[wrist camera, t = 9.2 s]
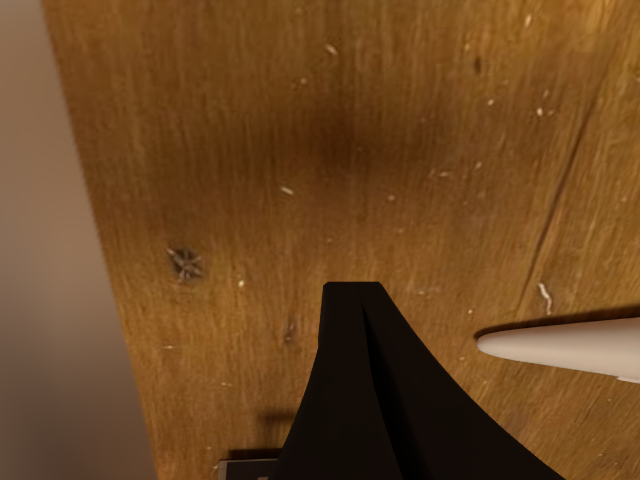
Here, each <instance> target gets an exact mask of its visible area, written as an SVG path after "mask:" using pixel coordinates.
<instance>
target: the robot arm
mask: <svg viewBox="0 0 640 480" xmlns="http://www.w3.org/2000/svg"><path fill="white" fill-rule="evenodd" d="M267 480H566V479H564V478H563V477H562V476H560V475H559V474H558V473H556V472H555V471H554V470H552V469H551V468H550V467H549V466H547V465H546V464H545V463H543V462H542V461H541V460H540V459H538V458H537V457H536V456H535V455H534V454H532V453H531V452H530V451H529V450H528V449H526V448H525V447H524V446H523V445H522V444H521V443H519V442H518V441H517V440H516V439H515V438H513V437H512V436H511V435H510V434H509V433H507V432H506V431H505V430H504V429H503V428H502V427H501V426H500V425H498V424H497V423H496V422H495V421H494V420H493V419H492V418H491V417H490V416H489V415H488V414H487V413H486V412H485V411H484V410H483V409H482V408H481V407H480V406H479V405H478V404H477V403H476V402H475V401H473V400H472V399H471V398H470V396H469V395H468V394H467V393H466V392H465V391H464V390H463V389H462V388H461V387H460V386H459V385H458V384H457V383H456V382H455V380H454V379H453V378H452V377H451V376H450V375H449V374H448V373H447V371H446V370H445V369H444V368H443V367H442V366H441V364H440V363H439V362H438V361H437V360H436V359H435V357H434V356H433V355H432V354H431V352H430V351H429V350H428V349H427V347H426V346H425V345H424V343H423V342H422V341H421V340H420V338H419V337H418V336H417V334H416V333H415V332H414V331H413V329H412V328H411V327H410V325H409V324H408V322H407V321H406V320H405V318H404V317H403V315H402V314H401V313H400V311H399V310H398V308H397V307H396V305H395V304H394V302H393V301H392V299H391V298H390V296H389V295H388V293H387V292H386V290H385V289H384V287H383V286H382V285H381V284H380V282H327V283H326V284H325V285H323V294H322V304H321V314H320V324H319V335H318V350H317V354H316V358H315V361H314V364H313V368H312V371H311V375H310V378H309V381H308V384H307V387H306V390H305V393H304V396H303V399H302V402H301V404H300V407H299V410H298V412H297V415H296V417H295V420H294V422H293V425H292V427H291V429H290V432H289V434H288V437H287V439H286V441H285V443H284V446H283V448H282V450H281V452H280V454H279V457H278V459H277V461H276V463H275V465H274V467H273V469H272V471H271V473H270V475H269V477H268V479H267Z"/></svg>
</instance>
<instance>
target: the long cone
mask: <svg viewBox="0 0 640 480" xmlns="http://www.w3.org/2000/svg"><path fill="white" fill-rule="evenodd" d="M476 345H477V348H478V349H479V350H480V351H482V352H484V353H487V354H490V355H493V356H497V357H501V358H506V359H510V360H517V361H523V362H530V363H536V364H543V365H549V366H556V367H562V368H569V369H575V370H582V371H588V372H595V373H601V374H608V375H614V376H615V377H616V379H618V380H623V381H628V382H634V383H640V317H637V318H626V319H615V320H605V321H594V322H584V323H573V324H563V325H552V326H542V327H533V328H523V329H514V330H507V331H500V332H495V333H490V334H486V335H483V336H481V337H480V338H479V339H478V340H477V342H476Z"/></svg>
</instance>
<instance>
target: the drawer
mask: <svg viewBox="0 0 640 480" xmlns="http://www.w3.org/2000/svg"><path fill="white" fill-rule="evenodd" d="M276 461H277V460H267V461H241V462H227V468H226V480H267V479H268V477H269V475H270V473H271V471H272V469H273V467H274V465H275V463H276Z"/></svg>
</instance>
